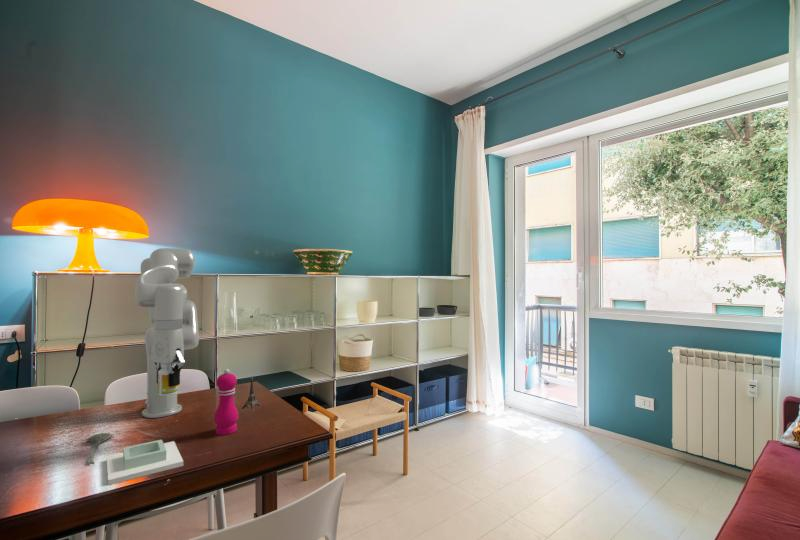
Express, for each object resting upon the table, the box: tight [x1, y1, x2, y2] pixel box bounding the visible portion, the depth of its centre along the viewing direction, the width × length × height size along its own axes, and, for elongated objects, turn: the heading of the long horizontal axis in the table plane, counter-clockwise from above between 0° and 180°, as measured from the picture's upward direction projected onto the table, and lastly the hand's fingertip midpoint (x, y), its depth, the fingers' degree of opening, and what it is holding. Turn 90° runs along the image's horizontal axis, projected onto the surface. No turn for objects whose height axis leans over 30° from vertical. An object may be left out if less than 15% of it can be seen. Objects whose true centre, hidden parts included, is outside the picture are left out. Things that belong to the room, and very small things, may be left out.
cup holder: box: [106, 439, 184, 486], centre depth 106 cm, size 16×16×4 cm
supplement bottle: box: [158, 361, 179, 396], centre depth 122 cm, size 5×5×10 cm
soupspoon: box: [85, 432, 114, 466], centre depth 114 cm, size 22×3×7 cm
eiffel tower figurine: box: [242, 376, 262, 411], centre depth 151 cm, size 15×10×13 cm
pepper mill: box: [213, 368, 239, 436], centre depth 128 cm, size 7×7×20 cm
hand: (168, 383), depth 122 cm, fingers closed on supplement bottle, 5 cm apart
